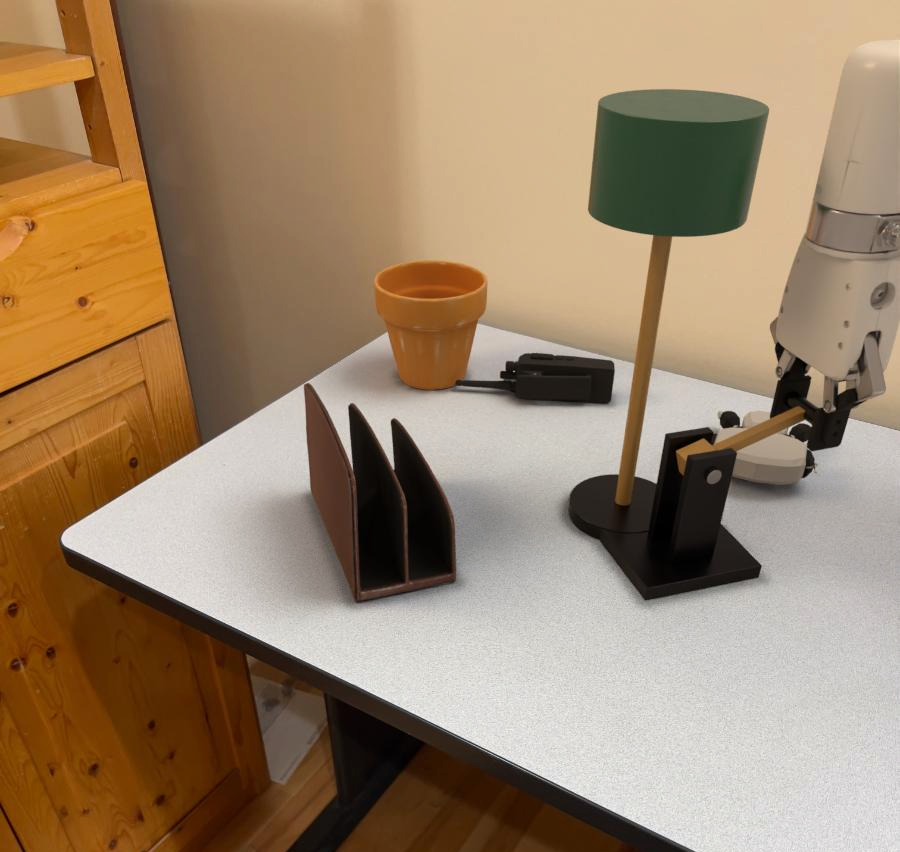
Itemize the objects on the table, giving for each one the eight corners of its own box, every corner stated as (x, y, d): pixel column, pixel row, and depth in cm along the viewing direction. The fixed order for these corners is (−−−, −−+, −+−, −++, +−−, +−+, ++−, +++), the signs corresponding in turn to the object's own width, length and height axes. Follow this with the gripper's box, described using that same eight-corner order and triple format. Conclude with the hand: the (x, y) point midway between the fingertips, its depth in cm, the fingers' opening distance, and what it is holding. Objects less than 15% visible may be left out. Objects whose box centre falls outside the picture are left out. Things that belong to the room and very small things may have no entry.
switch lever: (798, 405, 82) (797, 384, 81) (831, 430, 78) (831, 408, 77) (671, 464, 82) (668, 443, 80) (698, 491, 78) (695, 470, 77)
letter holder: (354, 604, 81) (343, 470, 72) (310, 494, 95) (296, 371, 86) (457, 583, 83) (459, 451, 74) (399, 478, 98) (394, 358, 89)
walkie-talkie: (616, 348, 109) (455, 341, 110) (613, 397, 108) (451, 389, 110) (611, 367, 115) (458, 359, 116) (608, 413, 114) (455, 405, 116)
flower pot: (427, 410, 110) (425, 308, 102) (357, 374, 118) (350, 277, 110) (506, 377, 118) (511, 280, 109) (436, 345, 126) (435, 252, 118)
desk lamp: (668, 480, 98) (740, 88, 74) (698, 549, 87) (793, 121, 63) (551, 482, 97) (585, 89, 73) (567, 552, 87) (614, 122, 63)
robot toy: (709, 431, 108) (690, 483, 96) (717, 396, 105) (699, 445, 94) (814, 450, 105) (808, 506, 93) (825, 414, 102) (819, 467, 90)
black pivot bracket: (705, 521, 91) (730, 409, 83) (758, 578, 84) (792, 460, 76) (599, 541, 88) (614, 426, 80) (645, 601, 81) (667, 481, 73)
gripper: (976, 254, 64) (900, 471, 75) (832, 194, 77) (785, 387, 88) (888, 266, 62) (824, 486, 74) (756, 202, 75) (719, 398, 87)
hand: (804, 430), depth 81 cm, fingers closed on switch lever, 5 cm apart
